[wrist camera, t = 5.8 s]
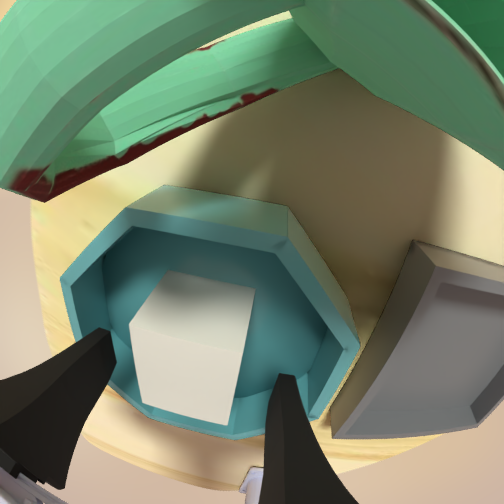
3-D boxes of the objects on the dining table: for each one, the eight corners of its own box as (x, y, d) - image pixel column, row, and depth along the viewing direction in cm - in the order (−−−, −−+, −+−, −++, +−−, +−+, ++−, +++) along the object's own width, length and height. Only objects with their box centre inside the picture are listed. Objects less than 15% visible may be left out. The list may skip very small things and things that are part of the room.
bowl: (298, 406, 17) (297, 448, 14) (116, 363, 17) (95, 397, 14) (373, 225, 11) (399, 260, 8) (95, 176, 12) (49, 195, 9)
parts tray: (468, 405, 16) (477, 427, 14) (329, 407, 17) (331, 438, 14) (550, 281, 11) (569, 300, 9) (412, 239, 11) (435, 265, 9)
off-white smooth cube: (240, 364, 15) (227, 425, 11) (168, 347, 15) (142, 402, 11) (255, 288, 13) (242, 353, 9) (168, 269, 13) (128, 324, 9)
